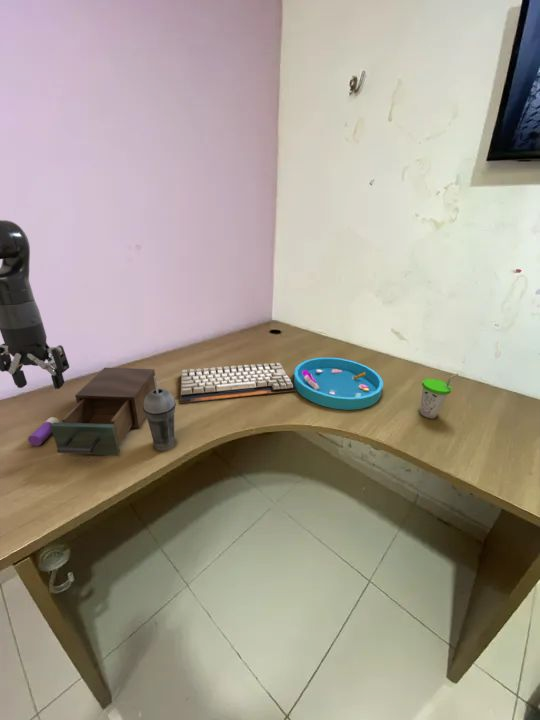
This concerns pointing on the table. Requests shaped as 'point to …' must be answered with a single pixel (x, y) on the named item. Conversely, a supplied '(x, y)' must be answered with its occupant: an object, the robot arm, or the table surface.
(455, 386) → the table surface
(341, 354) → the table surface
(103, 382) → the cabinet
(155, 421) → the beverage cup
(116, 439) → the drawer
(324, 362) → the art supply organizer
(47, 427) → the glue stick
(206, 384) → the mechanical keyboard
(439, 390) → the cup
